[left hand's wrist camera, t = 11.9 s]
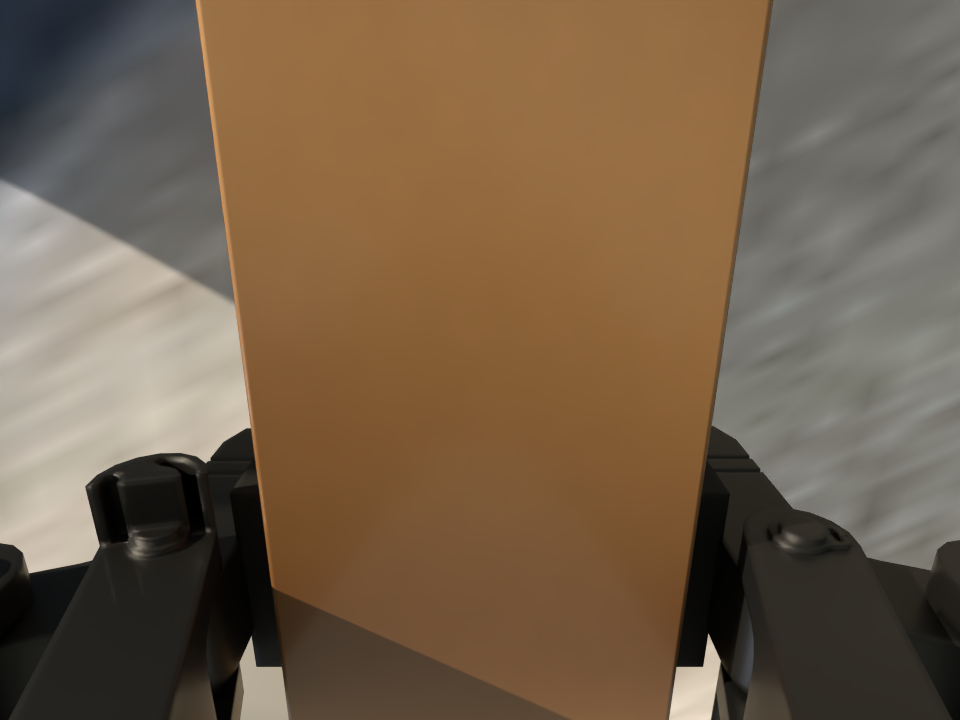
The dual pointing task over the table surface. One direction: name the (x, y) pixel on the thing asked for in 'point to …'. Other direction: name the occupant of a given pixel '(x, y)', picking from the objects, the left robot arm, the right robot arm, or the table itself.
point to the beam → (481, 335)
